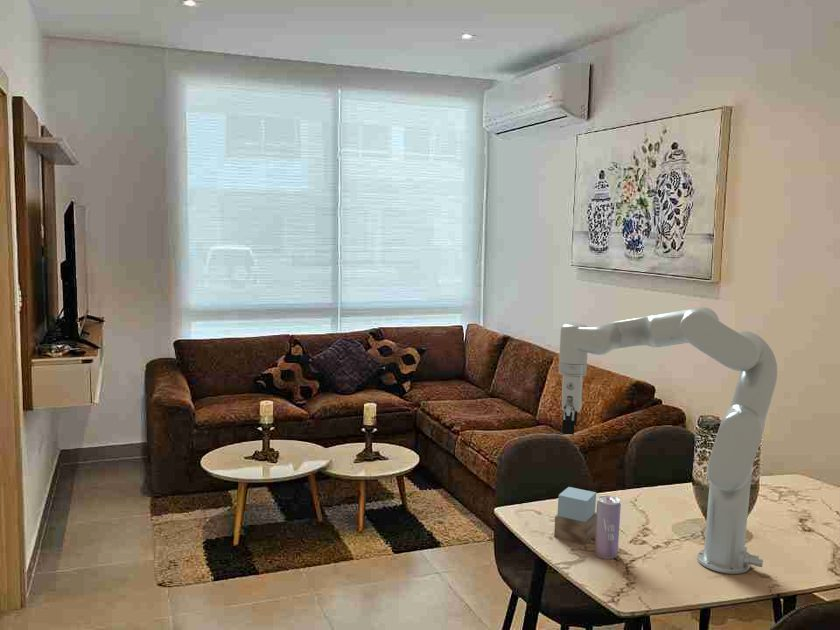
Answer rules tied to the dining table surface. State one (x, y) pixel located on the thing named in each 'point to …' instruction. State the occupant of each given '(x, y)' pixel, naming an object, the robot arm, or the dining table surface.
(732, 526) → the robot arm
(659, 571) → the dining table surface
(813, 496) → the dining table surface
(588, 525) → the base block
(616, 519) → the beverage can
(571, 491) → the top block
